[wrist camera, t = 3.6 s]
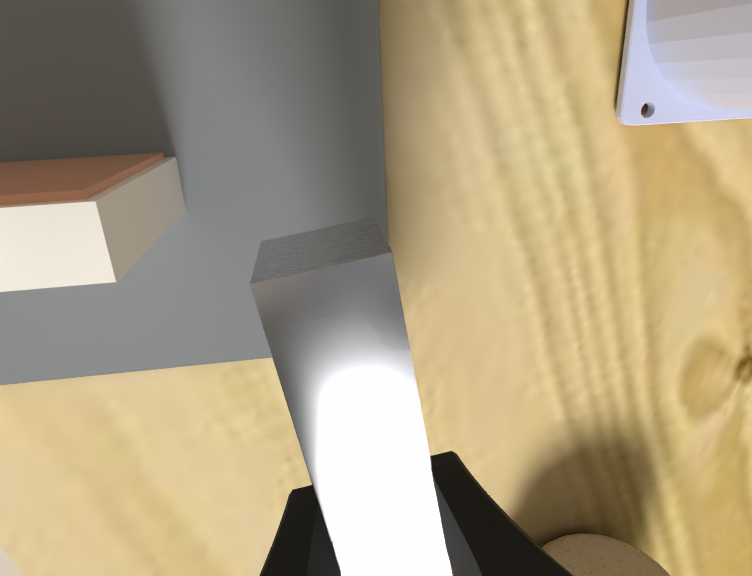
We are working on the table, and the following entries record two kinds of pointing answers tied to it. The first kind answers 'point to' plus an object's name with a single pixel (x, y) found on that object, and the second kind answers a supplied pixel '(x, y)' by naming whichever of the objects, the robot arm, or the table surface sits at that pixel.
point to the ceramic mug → (601, 556)
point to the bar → (353, 395)
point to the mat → (189, 160)
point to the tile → (83, 217)
